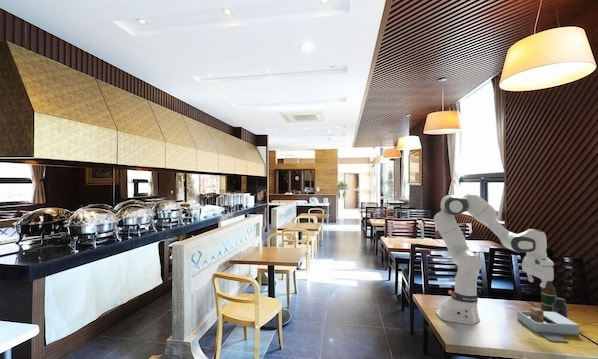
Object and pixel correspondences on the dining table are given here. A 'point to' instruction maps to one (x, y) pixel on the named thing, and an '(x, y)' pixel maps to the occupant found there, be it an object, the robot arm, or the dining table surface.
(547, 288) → the beer bottle
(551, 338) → the pad
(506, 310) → the dining table surface
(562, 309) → the supplement bottle
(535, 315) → the walnut block
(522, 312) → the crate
